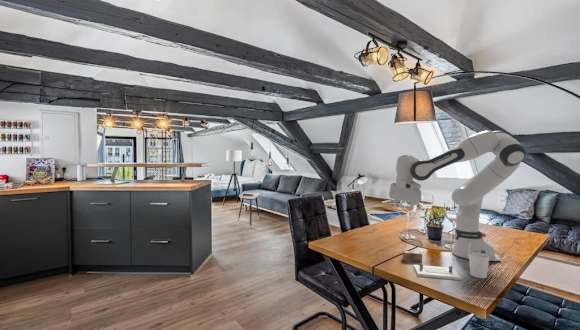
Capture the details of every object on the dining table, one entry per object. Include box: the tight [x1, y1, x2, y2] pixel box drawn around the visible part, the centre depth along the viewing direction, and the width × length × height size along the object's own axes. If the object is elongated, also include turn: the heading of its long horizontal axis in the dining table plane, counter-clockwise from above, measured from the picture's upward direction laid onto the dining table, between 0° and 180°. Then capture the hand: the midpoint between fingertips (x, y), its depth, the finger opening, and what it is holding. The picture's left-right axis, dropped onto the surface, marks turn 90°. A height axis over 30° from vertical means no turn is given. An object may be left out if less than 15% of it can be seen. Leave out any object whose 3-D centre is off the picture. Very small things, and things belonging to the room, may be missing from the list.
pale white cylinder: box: [468, 252, 490, 279], centre depth 137 cm, size 8×8×10 cm
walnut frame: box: [402, 250, 423, 264], centre depth 155 cm, size 9×4×5 cm, turn 79°
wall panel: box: [413, 262, 462, 281], centre depth 139 cm, size 18×12×4 cm, turn 77°
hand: (403, 208), depth 161 cm, fingers open, 8 cm apart
